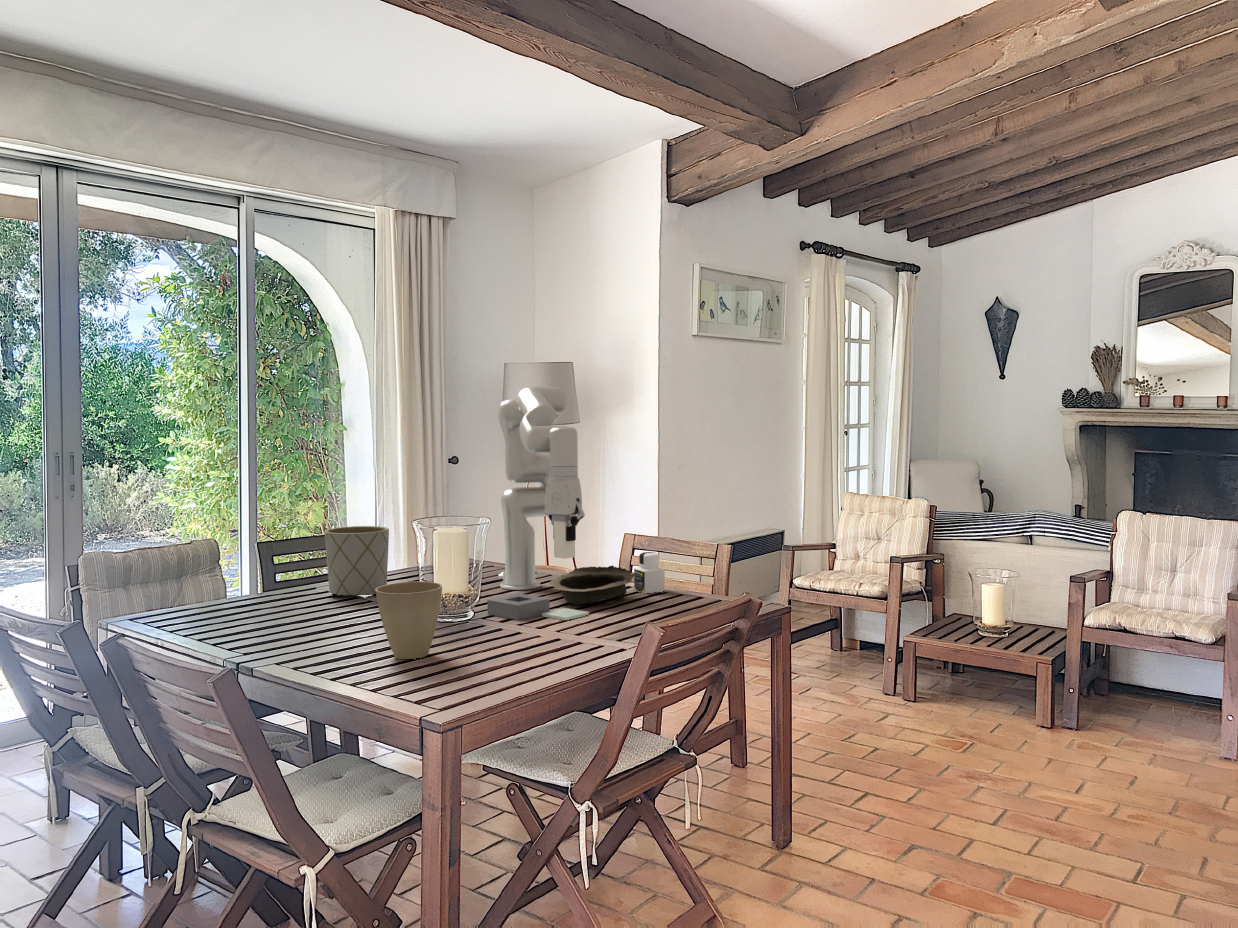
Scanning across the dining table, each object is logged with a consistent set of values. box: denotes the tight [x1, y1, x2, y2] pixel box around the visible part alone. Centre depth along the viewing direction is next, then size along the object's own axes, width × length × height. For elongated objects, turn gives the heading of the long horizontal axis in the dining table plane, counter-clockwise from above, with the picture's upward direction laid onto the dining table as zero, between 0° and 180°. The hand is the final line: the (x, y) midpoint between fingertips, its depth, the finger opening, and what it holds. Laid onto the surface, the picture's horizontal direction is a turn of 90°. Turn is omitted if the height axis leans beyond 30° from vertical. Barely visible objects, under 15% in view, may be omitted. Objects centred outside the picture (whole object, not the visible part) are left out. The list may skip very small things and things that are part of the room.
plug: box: [552, 515, 576, 560], centre depth 262 cm, size 5×5×12 cm
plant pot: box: [375, 581, 443, 660], centre depth 220 cm, size 15×15×16 cm
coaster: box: [541, 607, 590, 621], centre depth 263 cm, size 9×9×1 cm
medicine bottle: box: [633, 551, 666, 595], centre depth 298 cm, size 7×7×12 cm
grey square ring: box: [486, 593, 550, 621], centre depth 266 cm, size 12×12×4 cm
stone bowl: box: [549, 565, 635, 606], centre depth 283 cm, size 25×25×9 cm
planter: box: [323, 525, 390, 597], centre depth 297 cm, size 19×19×20 cm
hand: (564, 539), depth 262 cm, fingers closed on plug, 4 cm apart
